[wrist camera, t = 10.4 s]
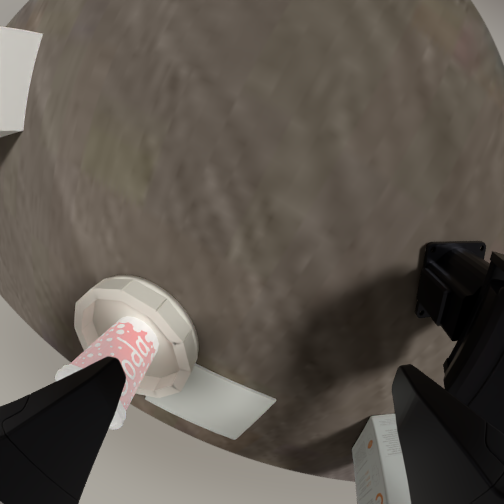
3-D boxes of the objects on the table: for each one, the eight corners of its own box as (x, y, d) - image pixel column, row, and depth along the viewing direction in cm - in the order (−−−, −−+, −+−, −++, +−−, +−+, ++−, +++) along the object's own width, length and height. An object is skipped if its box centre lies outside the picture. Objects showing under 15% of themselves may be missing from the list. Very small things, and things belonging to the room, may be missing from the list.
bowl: (186, 274, 21) (171, 291, 18) (208, 383, 25) (200, 405, 22) (78, 273, 23) (59, 285, 20) (112, 368, 27) (100, 383, 24)
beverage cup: (176, 362, 23) (110, 487, 10) (126, 361, 25) (56, 461, 11) (150, 306, 22) (48, 429, 8) (100, 311, 23) (5, 405, 10)
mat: (276, 398, 25) (276, 401, 24) (235, 438, 28) (234, 439, 28) (166, 347, 24) (164, 349, 24) (145, 397, 28) (144, 399, 27)
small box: (392, 444, 26) (407, 521, 14) (350, 448, 27) (356, 531, 15) (417, 409, 24) (444, 497, 11) (370, 414, 24) (387, 513, 12)
